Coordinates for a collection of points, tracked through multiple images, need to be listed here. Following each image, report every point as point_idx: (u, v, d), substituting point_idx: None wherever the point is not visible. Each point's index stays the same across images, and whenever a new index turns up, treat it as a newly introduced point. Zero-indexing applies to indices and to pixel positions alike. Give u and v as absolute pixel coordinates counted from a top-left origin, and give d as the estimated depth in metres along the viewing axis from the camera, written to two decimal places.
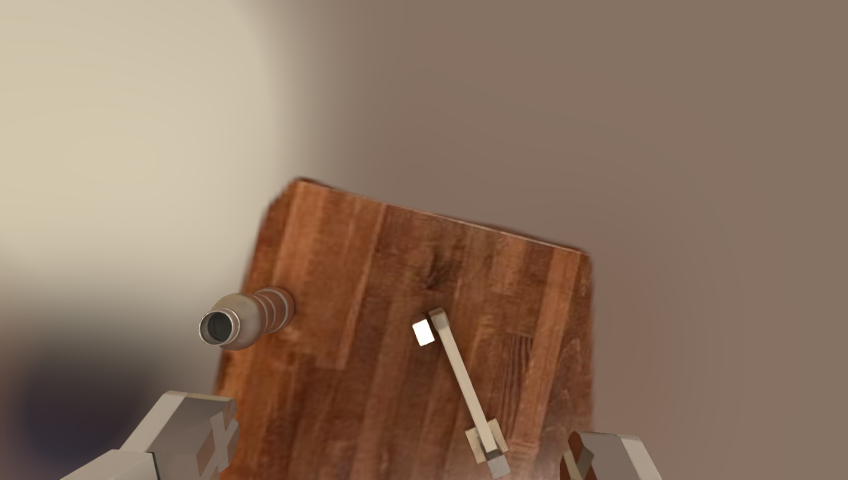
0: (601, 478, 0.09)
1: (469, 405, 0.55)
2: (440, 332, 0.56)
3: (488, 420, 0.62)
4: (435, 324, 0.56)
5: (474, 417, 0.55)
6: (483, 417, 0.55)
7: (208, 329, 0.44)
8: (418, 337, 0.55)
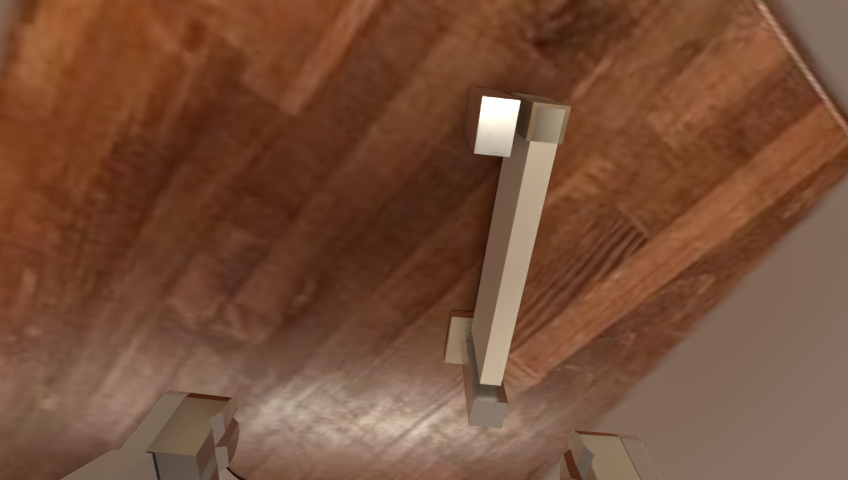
0: (601, 478, 0.09)
1: (498, 306, 0.27)
2: (532, 147, 0.23)
3: None
4: (533, 123, 0.22)
5: (494, 328, 0.28)
6: (509, 335, 0.28)
7: None
8: (480, 132, 0.22)
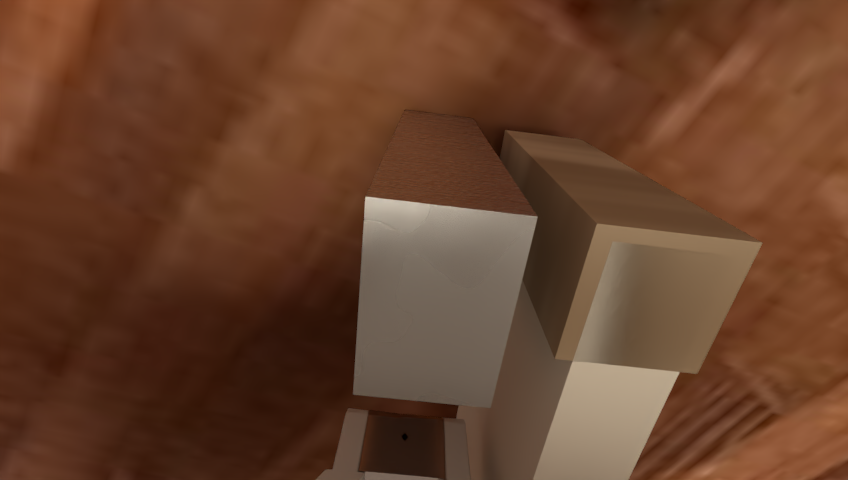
0: (403, 460, 0.08)
1: None
2: (579, 380, 0.06)
3: None
4: (589, 305, 0.05)
5: None
6: None
7: None
8: (370, 329, 0.05)
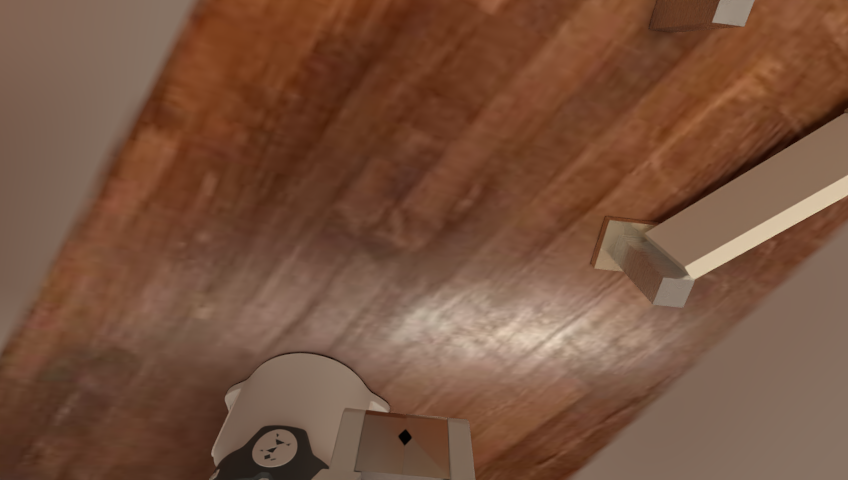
0: (408, 460, 0.08)
1: (771, 220, 0.30)
2: None
3: (649, 223, 0.38)
4: None
5: (748, 233, 0.31)
6: (747, 247, 0.31)
7: None
8: (722, 0, 0.24)
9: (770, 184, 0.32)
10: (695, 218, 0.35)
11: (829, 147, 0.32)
